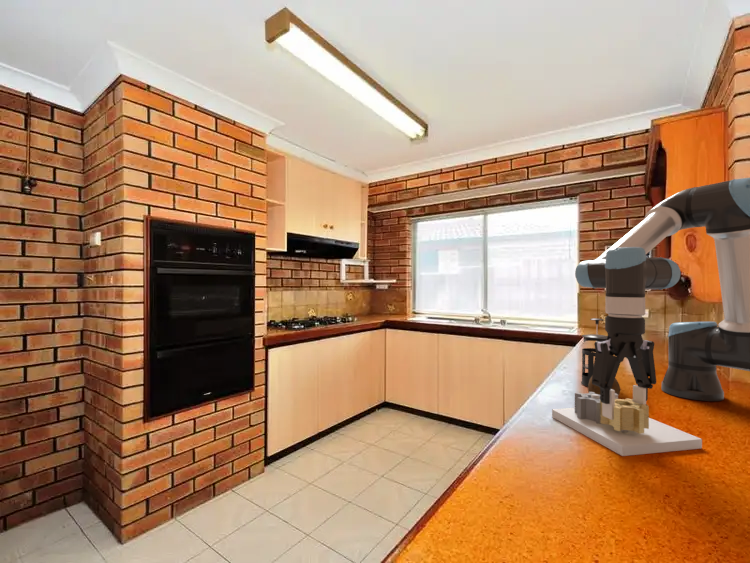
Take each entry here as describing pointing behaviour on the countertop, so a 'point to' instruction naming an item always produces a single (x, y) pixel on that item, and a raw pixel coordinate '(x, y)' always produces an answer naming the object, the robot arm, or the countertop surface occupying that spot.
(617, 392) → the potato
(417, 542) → the countertop surface
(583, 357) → the french press
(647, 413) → the brass gear
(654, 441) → the gear board
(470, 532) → the countertop surface
